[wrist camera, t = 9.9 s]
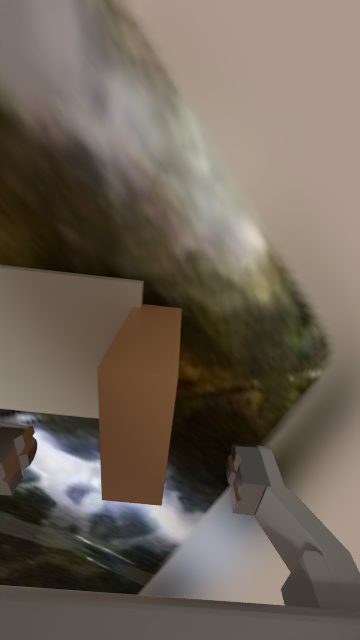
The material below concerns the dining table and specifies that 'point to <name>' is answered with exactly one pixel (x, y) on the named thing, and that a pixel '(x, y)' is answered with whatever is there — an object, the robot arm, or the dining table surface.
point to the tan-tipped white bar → (94, 367)
